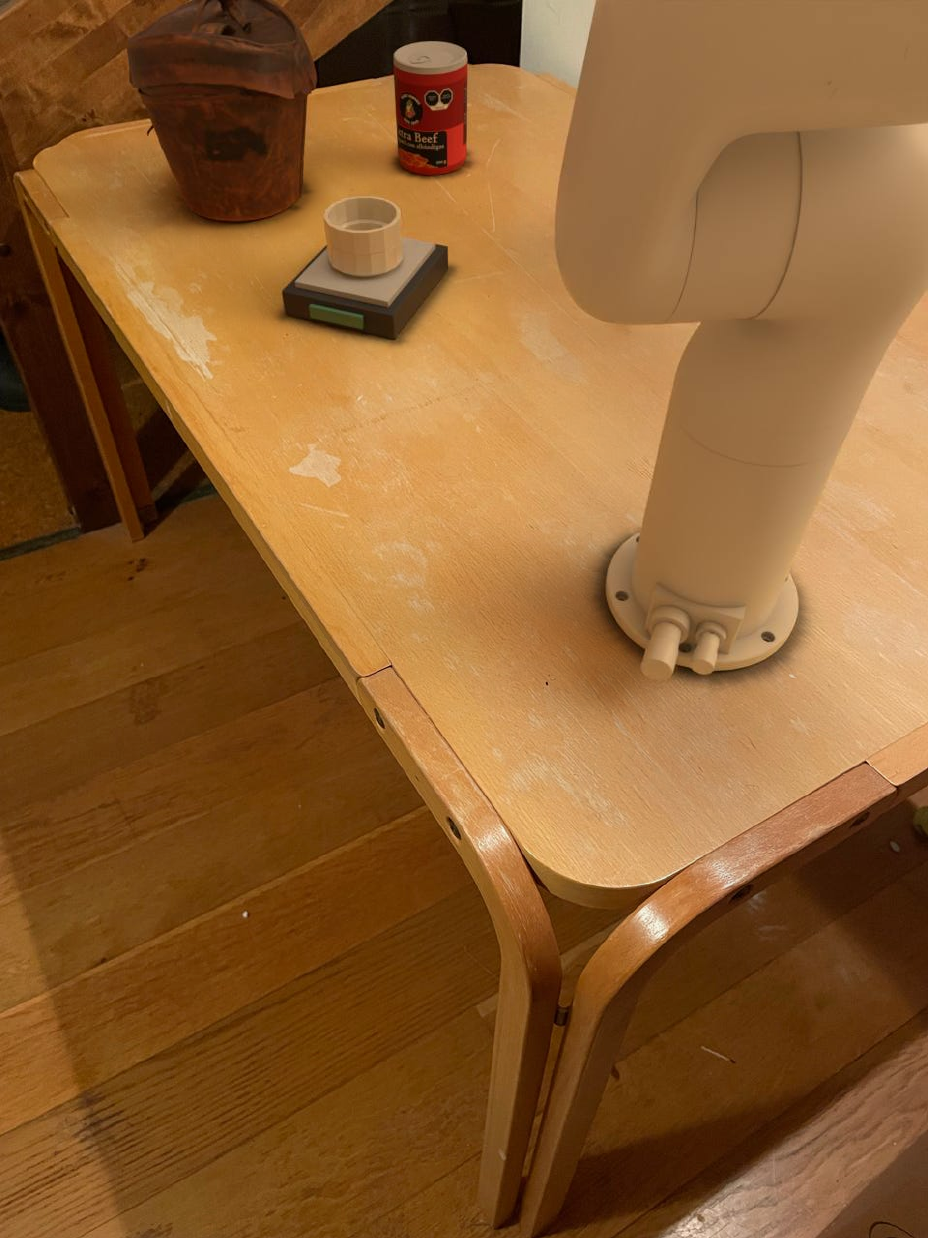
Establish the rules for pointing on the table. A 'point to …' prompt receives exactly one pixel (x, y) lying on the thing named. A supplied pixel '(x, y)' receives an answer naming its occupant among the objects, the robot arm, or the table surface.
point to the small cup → (364, 235)
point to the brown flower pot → (227, 103)
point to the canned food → (431, 106)
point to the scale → (367, 291)
